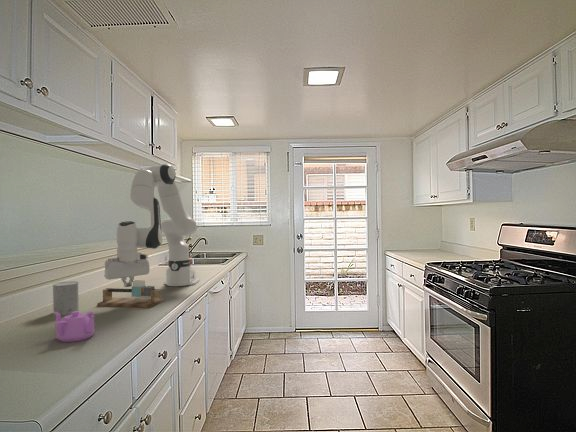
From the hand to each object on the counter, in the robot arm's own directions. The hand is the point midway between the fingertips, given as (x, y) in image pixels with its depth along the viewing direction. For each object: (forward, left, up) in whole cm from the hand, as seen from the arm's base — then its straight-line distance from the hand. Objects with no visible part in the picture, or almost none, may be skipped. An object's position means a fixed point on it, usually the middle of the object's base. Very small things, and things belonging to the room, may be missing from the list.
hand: (127, 286), depth 183 cm
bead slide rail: (0, +1, -4) cm, 4 cm away
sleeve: (0, +5, -4) cm, 7 cm away
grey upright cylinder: (+18, -18, -8) cm, 26 cm away
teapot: (+48, +10, -8) cm, 50 cm away
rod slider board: (0, +1, -8) cm, 8 cm away
